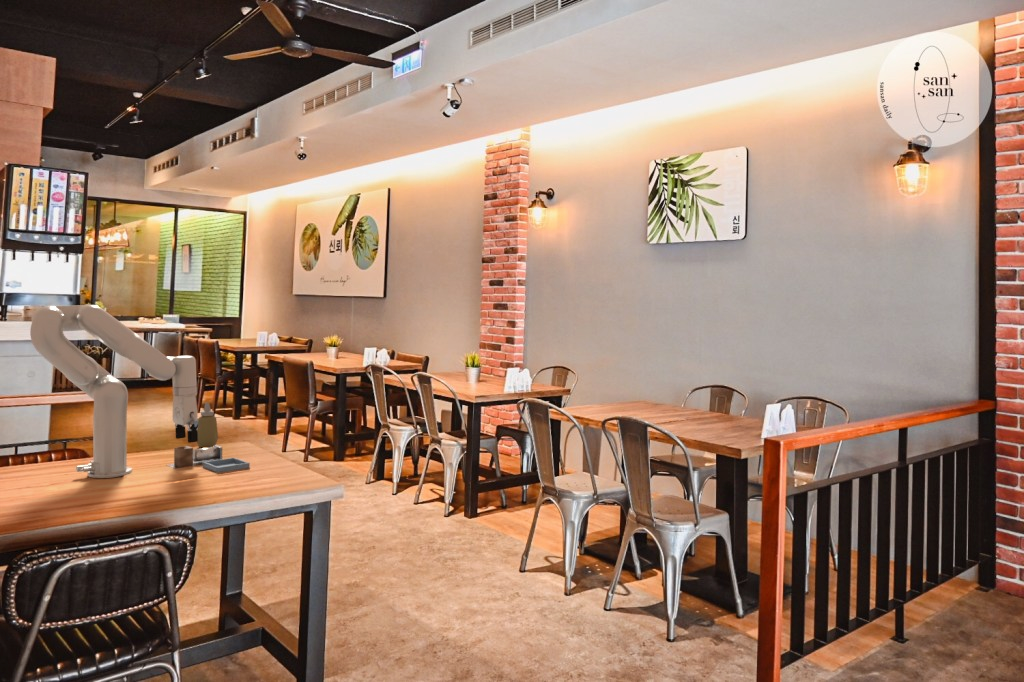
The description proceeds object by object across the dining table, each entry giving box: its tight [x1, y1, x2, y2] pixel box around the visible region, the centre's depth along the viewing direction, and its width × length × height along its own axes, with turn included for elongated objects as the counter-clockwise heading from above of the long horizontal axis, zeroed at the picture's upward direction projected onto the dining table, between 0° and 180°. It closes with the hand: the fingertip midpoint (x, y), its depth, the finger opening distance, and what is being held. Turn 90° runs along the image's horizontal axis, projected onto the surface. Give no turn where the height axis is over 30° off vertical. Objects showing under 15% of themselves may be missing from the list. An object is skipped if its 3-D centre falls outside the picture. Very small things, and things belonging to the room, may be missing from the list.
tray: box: [202, 457, 251, 475], centre depth 239 cm, size 11×11×2 cm
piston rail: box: [166, 459, 218, 470], centre depth 245 cm, size 18×7×1 cm, turn 138°
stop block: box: [173, 445, 194, 468], centre depth 241 cm, size 4×4×6 cm
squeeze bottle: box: [196, 401, 219, 448], centre depth 273 cm, size 8×8×18 cm
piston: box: [193, 444, 223, 462], centre depth 247 cm, size 9×5×5 cm, turn 138°
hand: (186, 440), depth 242 cm, fingers open, 9 cm apart
